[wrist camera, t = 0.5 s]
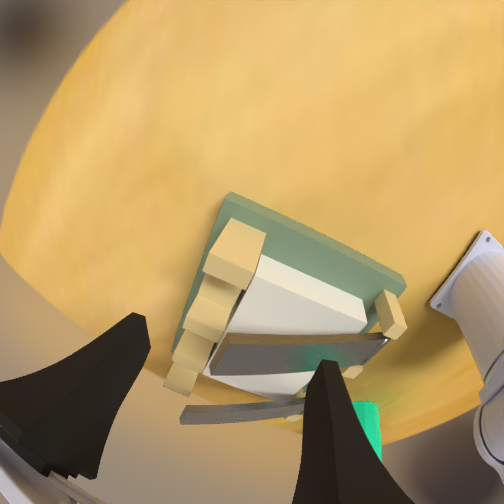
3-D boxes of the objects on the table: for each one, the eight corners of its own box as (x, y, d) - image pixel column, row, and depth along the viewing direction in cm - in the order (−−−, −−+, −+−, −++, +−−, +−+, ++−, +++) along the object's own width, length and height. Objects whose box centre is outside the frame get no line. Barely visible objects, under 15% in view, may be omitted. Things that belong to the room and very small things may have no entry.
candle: (338, 424, 31) (335, 500, 20) (327, 407, 28) (323, 494, 18) (380, 415, 29) (384, 492, 18) (375, 396, 26) (380, 486, 16)
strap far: (318, 393, 21) (321, 401, 20) (300, 407, 22) (303, 414, 22) (186, 403, 16) (187, 414, 15) (179, 416, 18) (180, 425, 17)
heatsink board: (401, 275, 18) (426, 330, 13) (297, 387, 27) (292, 434, 22) (230, 191, 18) (199, 228, 12) (176, 341, 26) (153, 386, 21)
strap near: (387, 330, 16) (392, 339, 16) (361, 356, 18) (365, 365, 17) (226, 330, 12) (230, 345, 11) (208, 363, 13) (210, 377, 12)
